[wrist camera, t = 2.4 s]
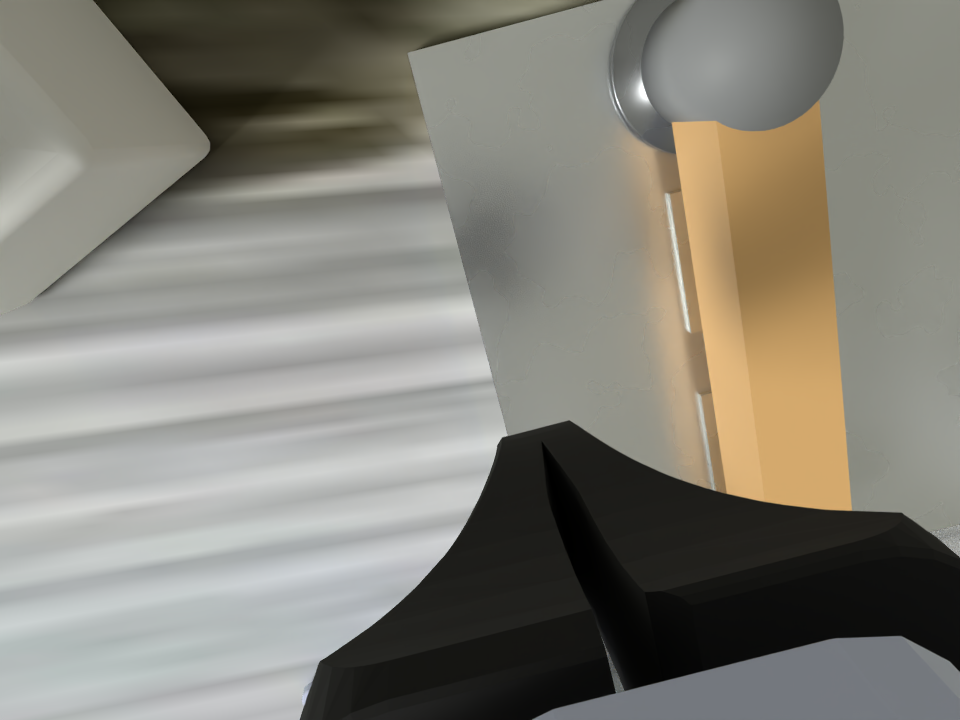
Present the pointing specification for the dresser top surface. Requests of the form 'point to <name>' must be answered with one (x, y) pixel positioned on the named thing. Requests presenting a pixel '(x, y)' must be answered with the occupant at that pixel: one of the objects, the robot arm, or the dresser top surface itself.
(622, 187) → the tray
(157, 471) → the dresser top surface
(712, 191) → the tan piece
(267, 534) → the dresser top surface
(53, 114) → the medicine bottle
